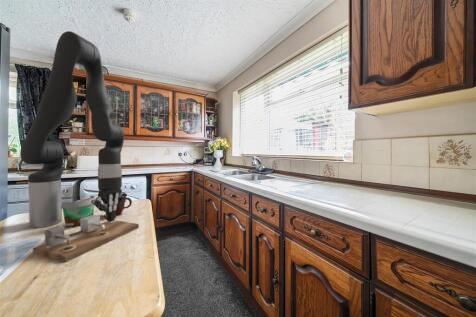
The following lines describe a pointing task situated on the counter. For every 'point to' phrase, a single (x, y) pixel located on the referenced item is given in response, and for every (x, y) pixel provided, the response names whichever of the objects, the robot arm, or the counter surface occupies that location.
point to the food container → (77, 211)
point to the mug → (119, 210)
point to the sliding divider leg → (90, 223)
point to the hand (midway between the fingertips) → (110, 220)
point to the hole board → (80, 240)
